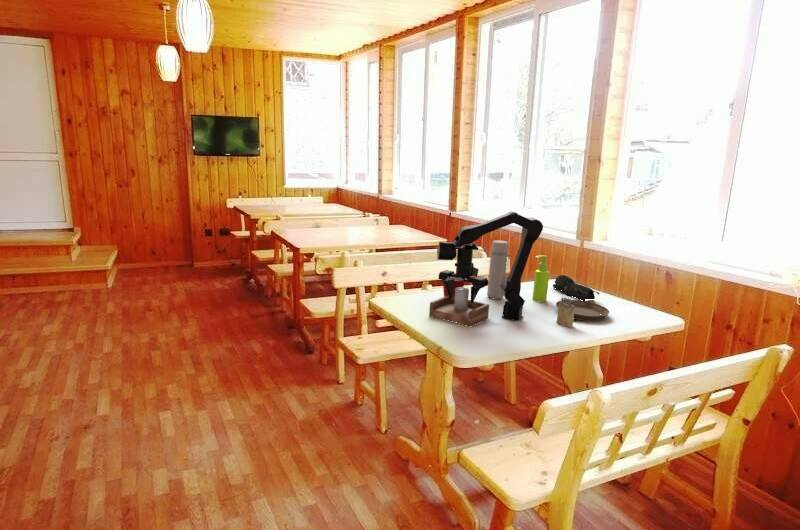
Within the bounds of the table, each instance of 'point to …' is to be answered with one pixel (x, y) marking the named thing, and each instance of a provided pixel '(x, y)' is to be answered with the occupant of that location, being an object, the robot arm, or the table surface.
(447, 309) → the wooden tray
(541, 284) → the soap dispenser
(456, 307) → the grey rounded cone
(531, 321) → the table surface
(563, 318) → the tan upright block
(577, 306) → the plant saucer
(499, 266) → the water bottle
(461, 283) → the plastic cup
